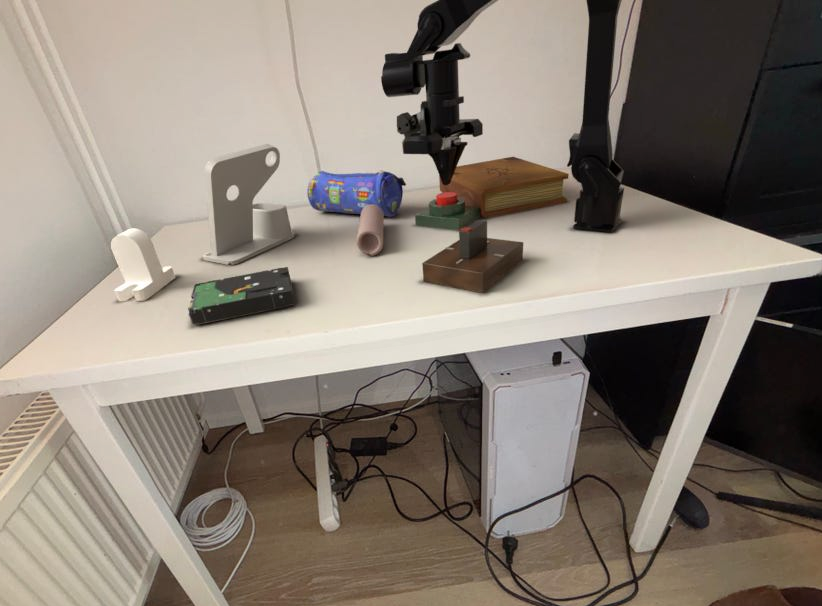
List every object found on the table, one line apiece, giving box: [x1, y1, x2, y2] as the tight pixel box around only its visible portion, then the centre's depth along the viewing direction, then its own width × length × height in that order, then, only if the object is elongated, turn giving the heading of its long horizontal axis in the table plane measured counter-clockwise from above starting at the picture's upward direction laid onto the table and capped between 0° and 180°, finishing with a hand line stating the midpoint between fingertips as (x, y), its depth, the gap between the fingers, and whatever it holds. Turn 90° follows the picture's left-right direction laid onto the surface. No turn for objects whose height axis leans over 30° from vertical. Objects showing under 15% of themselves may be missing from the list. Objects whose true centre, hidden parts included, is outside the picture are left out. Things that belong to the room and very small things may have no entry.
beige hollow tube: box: [356, 204, 385, 257], centre depth 91 cm, size 5×5×18 cm
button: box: [435, 192, 457, 205], centre depth 94 cm, size 4×4×2 cm
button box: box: [414, 197, 481, 232], centre depth 96 cm, size 10×8×4 cm
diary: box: [438, 156, 569, 219], centre depth 105 cm, size 23×19×6 cm
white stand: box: [110, 227, 176, 302], centre depth 81 cm, size 5×10×10 cm, turn 170°
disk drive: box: [187, 266, 295, 325], centre depth 73 cm, size 10×3×15 cm
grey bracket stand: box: [202, 143, 295, 266], centre depth 93 cm, size 17×10×18 cm, turn 145°
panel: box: [421, 237, 524, 294], centre depth 74 cm, size 10×13×3 cm
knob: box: [458, 219, 488, 259], centre depth 72 cm, size 6×2×4 cm, turn 142°
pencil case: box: [306, 169, 407, 218], centre depth 107 cm, size 22×9×10 cm, turn 58°
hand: (446, 184), depth 93 cm, fingers closed
